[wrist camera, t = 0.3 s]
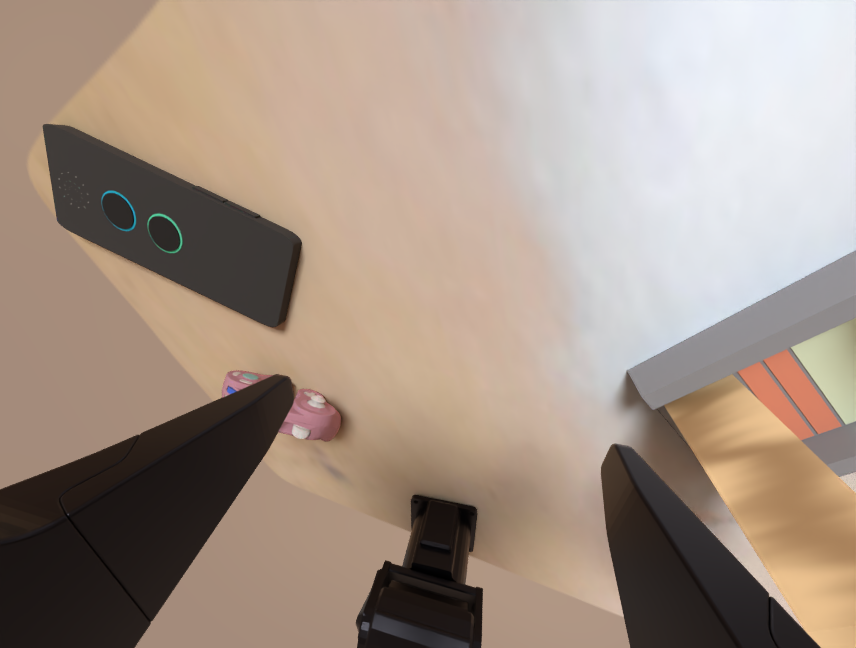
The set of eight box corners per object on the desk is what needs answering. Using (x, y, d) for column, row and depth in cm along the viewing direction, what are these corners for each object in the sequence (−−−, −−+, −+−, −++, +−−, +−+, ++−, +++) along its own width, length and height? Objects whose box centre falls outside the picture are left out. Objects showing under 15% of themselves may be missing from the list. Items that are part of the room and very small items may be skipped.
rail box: (712, 471, 25) (765, 552, 20) (626, 370, 23) (660, 431, 18) (966, 383, 19) (1137, 466, 14) (879, 238, 17) (1038, 271, 12)
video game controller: (356, 393, 32) (330, 413, 25) (339, 438, 32) (308, 470, 25) (262, 355, 33) (211, 364, 26) (245, 399, 33) (190, 420, 26)
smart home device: (37, 116, 24) (293, 238, 23) (66, 119, 25) (307, 233, 25) (55, 227, 28) (274, 332, 27) (79, 223, 29) (287, 323, 29)
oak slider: (717, 467, 23) (899, 737, 12) (660, 399, 22) (806, 632, 11) (784, 443, 22) (1065, 734, 11) (726, 368, 20) (975, 609, 9)
